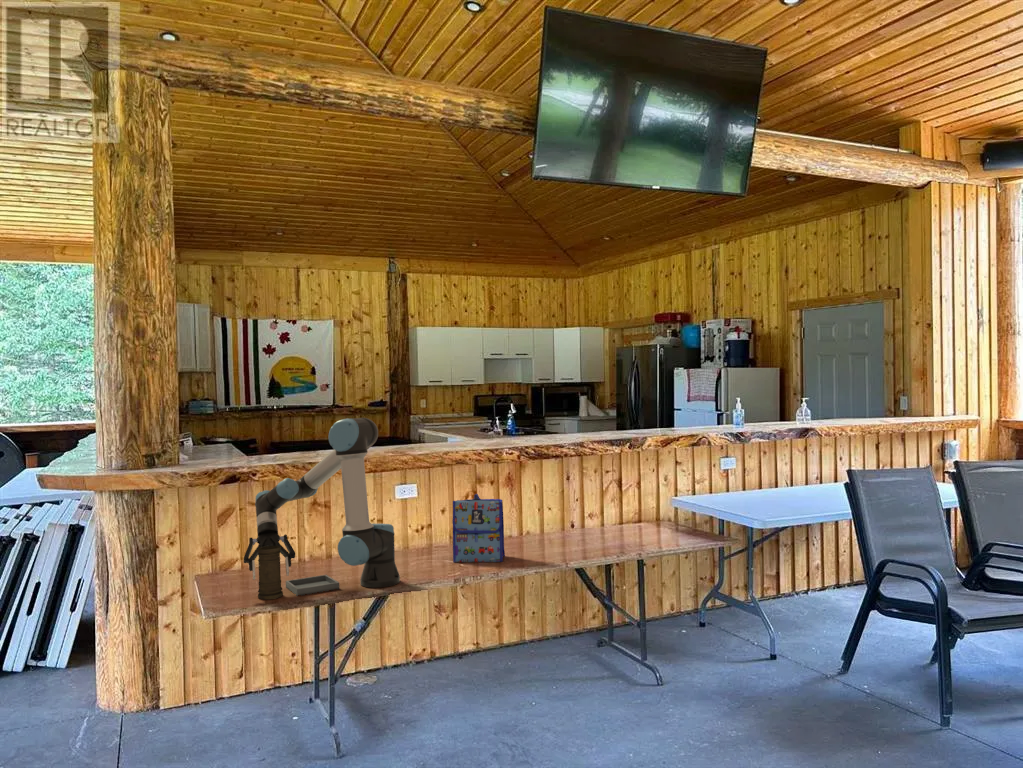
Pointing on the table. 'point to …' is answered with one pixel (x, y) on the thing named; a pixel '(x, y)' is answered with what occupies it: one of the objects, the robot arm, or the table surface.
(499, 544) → the lunch bag
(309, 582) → the tray
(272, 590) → the container
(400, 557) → the table surface
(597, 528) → the table surface
